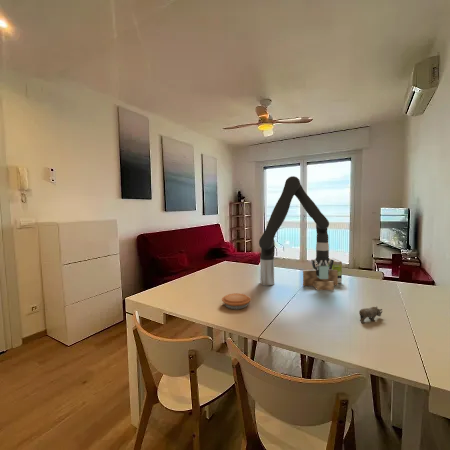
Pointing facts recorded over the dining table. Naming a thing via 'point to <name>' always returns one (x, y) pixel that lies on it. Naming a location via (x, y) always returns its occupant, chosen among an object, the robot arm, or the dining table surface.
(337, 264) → the tea box
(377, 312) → the rhino figurine
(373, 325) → the dining table surface
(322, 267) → the tall sage green box
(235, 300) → the pie
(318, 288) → the wooden stand
